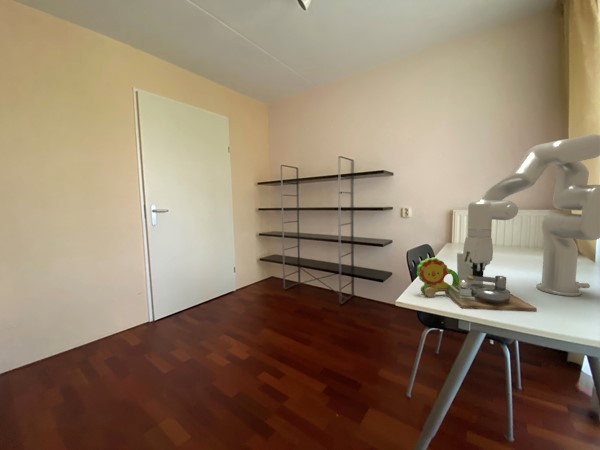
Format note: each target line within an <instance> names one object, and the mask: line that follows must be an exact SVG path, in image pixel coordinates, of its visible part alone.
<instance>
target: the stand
mask: <svg viewBox="0 0 600 450" xmlns="http://www.w3.org/2000/svg"><path fill="white" fill-rule="evenodd" d="M444 294H445V295H446V296H448V298H450V299H451V300H452V301H453V302H454V303H455V304H456V305H457V306H458V307H460V308H461V309H465V310H466V309H467V310H469V309H471V310H488V311H489V310H492V311H516V312H518V311H519V312H537V307H535V306H534V305H532V304H530V303H528V302H527V301H526V300H525V301H524V300H523V299H521V298H519V297H517V296H516V295H514V294H513V293H510V300H509V301H506V302H494V301H488V300H483V299H479V298H476V297H474V296H472V295H471V297H466V296H460V291H459V290H457V289H456V288H455V287H453V286H449V293H448V292H444Z"/></svg>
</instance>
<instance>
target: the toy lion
mask: <svg viewBox="0 0 600 450" xmlns="http://www.w3.org/2000/svg"><path fill="white" fill-rule="evenodd" d="M416 270H417V271H416V276H417V277H419V280H420V281H421V282H422V283H423V285H422V286H420V291H421V293H422V294H424V295H425V296H427V297H429V298H433V297H435V296H436V293H441V292H444V293H445V292H448V293H449V286H453V287H455V286H459V277H458V275H457V271H455V270H453V269H450V268H449V267H448V265H446V264H445V262H444V261H443V260H440V259H439V258H437V257H434V256H433V257H431V258H430V257H429V258H428V257H426V258H425V259H424V260H421V261H420V263H419V264H417V267H416ZM448 275H451V276H452V283H451V284H449V283H447V282H446V281H444V279H445V277H446V276H448Z"/></svg>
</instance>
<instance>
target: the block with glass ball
mask: <svg viewBox="0 0 600 450" xmlns="http://www.w3.org/2000/svg"><path fill="white" fill-rule="evenodd" d="M455 288H456V289H457V290H459V291H460V296H466V297H471V295H472V290H471V289H470V287H468V282H467V281H466V280H460V281H459V286H455Z"/></svg>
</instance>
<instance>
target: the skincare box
mask: <svg viewBox="0 0 600 450" xmlns="http://www.w3.org/2000/svg"><path fill="white" fill-rule="evenodd" d="M456 255H457V256H456V259H457V260H456V261H457V262H456V265H457V266H456V267H457V268H456V269H457V271H456V273H457V275H458V277H459V281H460V280H466V281H467V282H468V286H467V287H468V288H470V285H472V284H484V281H476V280H468V279H467V275H468V274H471V275H472V274H473V269H471V267H470V266H466V262H465V261H463V250H462V251H458V252H457V253H456Z"/></svg>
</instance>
